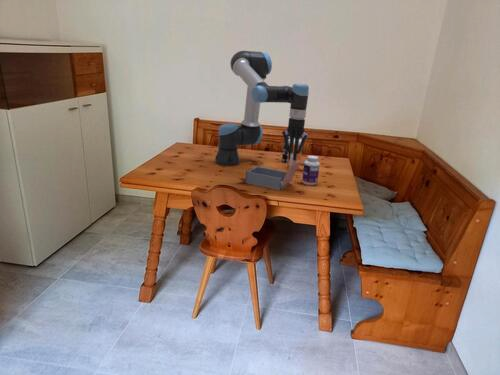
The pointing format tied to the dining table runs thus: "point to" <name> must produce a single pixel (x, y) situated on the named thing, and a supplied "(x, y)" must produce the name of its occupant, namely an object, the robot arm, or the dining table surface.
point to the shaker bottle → (293, 152)
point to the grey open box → (265, 177)
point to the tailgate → (290, 173)
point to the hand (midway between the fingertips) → (291, 166)
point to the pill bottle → (311, 170)
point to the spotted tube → (285, 152)
